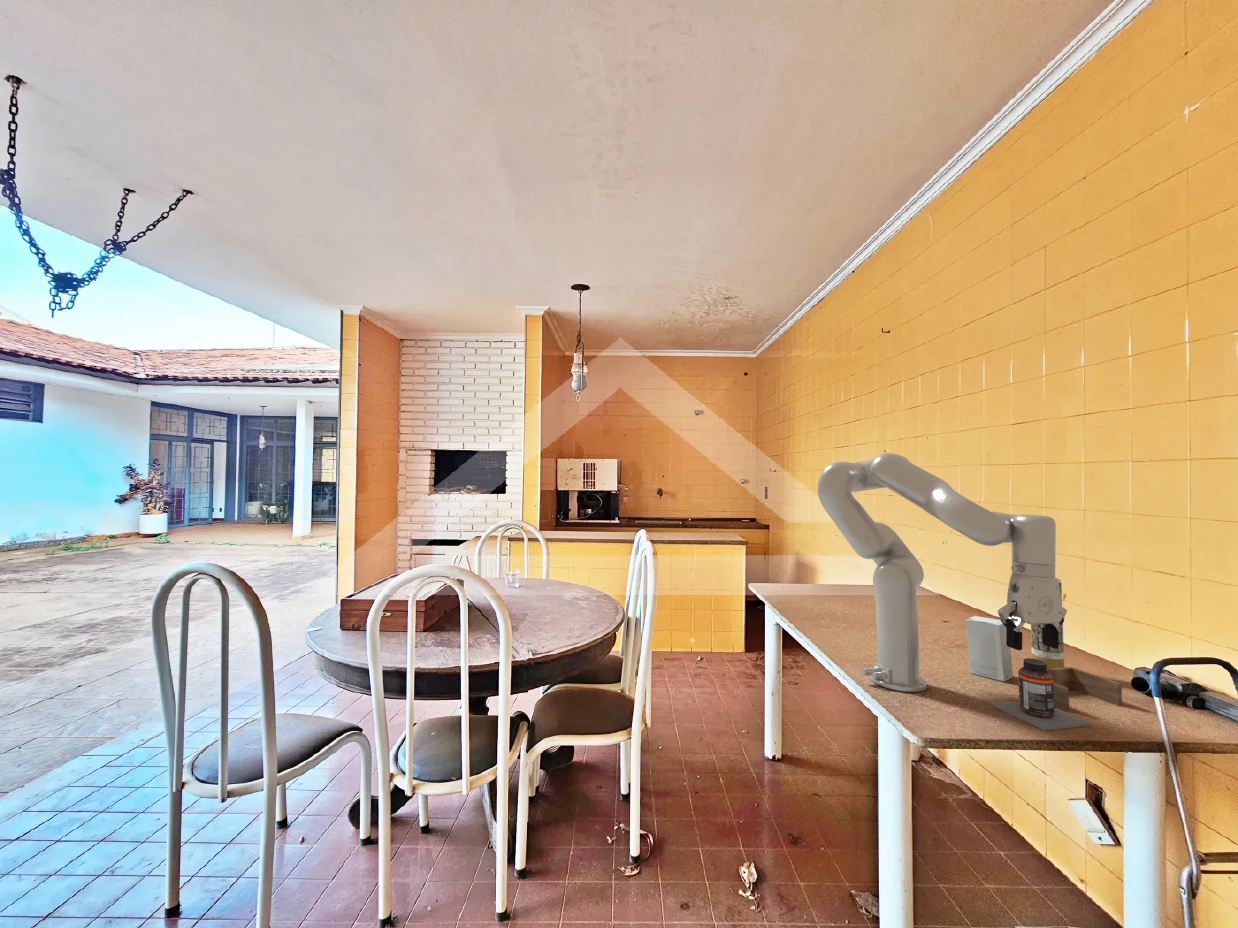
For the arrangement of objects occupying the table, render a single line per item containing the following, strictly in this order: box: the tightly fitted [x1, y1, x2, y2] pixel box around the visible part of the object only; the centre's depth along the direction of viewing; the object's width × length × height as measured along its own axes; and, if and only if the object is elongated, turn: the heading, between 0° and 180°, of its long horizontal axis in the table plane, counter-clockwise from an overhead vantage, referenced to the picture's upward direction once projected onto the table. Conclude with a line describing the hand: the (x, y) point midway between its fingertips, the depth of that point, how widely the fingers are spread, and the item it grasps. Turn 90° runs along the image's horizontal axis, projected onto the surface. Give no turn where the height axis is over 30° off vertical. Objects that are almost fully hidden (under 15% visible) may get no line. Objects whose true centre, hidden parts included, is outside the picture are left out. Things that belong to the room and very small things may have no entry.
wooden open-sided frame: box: [1017, 666, 1123, 712], centre depth 120 cm, size 16×11×5 cm
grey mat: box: [990, 700, 1092, 732], centre depth 111 cm, size 12×12×1 cm
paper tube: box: [1030, 578, 1065, 669], centre depth 139 cm, size 7×7×25 cm
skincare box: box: [965, 615, 1014, 682], centre depth 135 cm, size 8×6×15 cm
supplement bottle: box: [1018, 657, 1055, 718], centre depth 112 cm, size 6×6×11 cm
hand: (1032, 647), depth 113 cm, fingers open, 9 cm apart
